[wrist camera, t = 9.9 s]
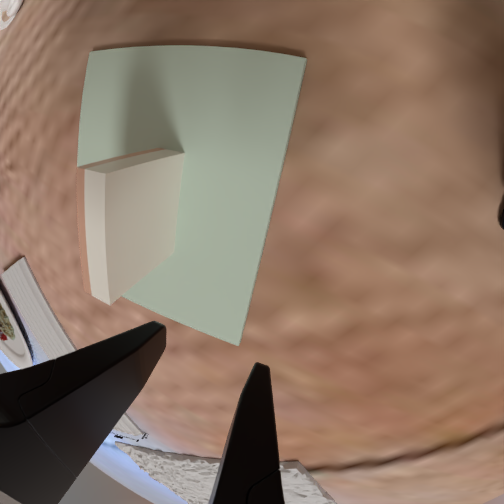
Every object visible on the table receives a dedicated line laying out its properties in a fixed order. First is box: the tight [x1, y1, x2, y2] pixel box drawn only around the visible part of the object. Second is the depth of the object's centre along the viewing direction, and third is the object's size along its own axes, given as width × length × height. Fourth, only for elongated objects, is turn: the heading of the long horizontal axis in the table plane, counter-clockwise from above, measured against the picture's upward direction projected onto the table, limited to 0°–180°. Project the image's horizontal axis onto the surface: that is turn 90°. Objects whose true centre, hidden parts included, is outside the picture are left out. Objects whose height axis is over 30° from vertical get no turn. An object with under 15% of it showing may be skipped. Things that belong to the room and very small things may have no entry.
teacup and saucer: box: [0, 0, 23, 30], centre depth 14 cm, size 9×8×4 cm
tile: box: [76, 148, 185, 305], centre depth 16 cm, size 2×7×7 cm, turn 169°
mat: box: [77, 45, 307, 346], centre depth 19 cm, size 16×20×1 cm
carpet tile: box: [115, 441, 337, 504], centre depth 40 cm, size 39×30×2 cm
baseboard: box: [2, 256, 148, 442], centre depth 34 cm, size 31×3×12 cm
